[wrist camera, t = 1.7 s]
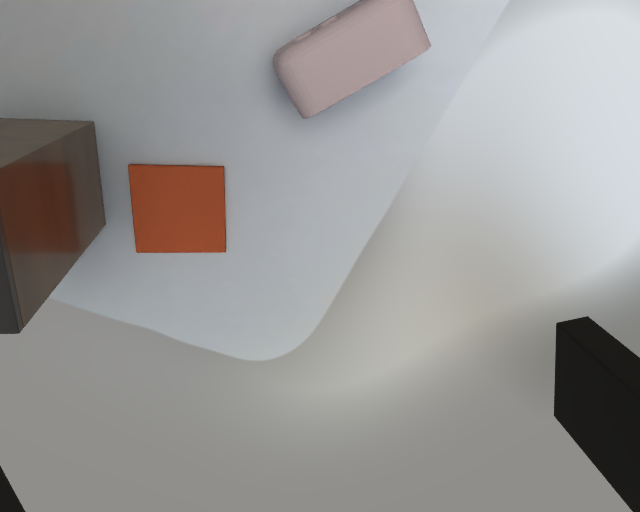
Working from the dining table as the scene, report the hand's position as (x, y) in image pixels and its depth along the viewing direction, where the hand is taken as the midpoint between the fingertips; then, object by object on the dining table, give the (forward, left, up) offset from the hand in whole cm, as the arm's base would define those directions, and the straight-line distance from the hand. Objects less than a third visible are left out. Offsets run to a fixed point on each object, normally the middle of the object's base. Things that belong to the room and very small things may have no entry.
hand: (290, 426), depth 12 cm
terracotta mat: (-7, -6, -35) cm, 37 cm away
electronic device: (+6, +8, -36) cm, 37 cm away
